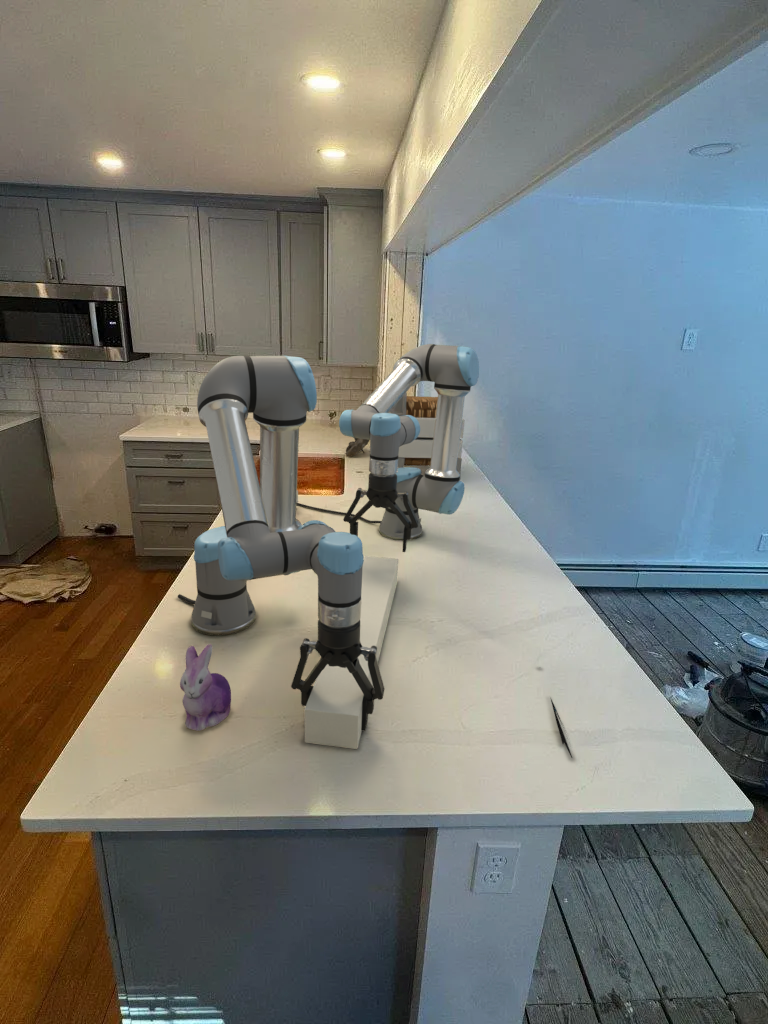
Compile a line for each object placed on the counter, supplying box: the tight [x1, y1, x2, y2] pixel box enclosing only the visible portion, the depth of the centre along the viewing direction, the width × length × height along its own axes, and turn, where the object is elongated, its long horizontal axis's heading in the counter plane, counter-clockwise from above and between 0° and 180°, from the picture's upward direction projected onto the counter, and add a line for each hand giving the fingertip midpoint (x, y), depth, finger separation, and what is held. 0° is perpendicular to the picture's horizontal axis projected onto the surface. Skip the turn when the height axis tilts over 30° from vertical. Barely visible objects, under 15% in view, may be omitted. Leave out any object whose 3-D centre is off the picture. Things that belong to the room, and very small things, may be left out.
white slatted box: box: [389, 392, 465, 481], centre depth 268 cm, size 34×33×41 cm
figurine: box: [179, 643, 232, 732], centre depth 106 cm, size 9×10×15 cm
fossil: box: [345, 438, 370, 458], centre depth 306 cm, size 22×10×15 cm
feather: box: [539, 666, 573, 758], centre depth 114 cm, size 2×28×2 cm
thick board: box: [303, 555, 399, 750], centre depth 133 cm, size 67×10×7 cm, turn 173°
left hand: (337, 722), depth 107 cm, fingers closed on thick board, 10 cm apart
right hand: (379, 548), depth 156 cm, fingers open, 13 cm apart
